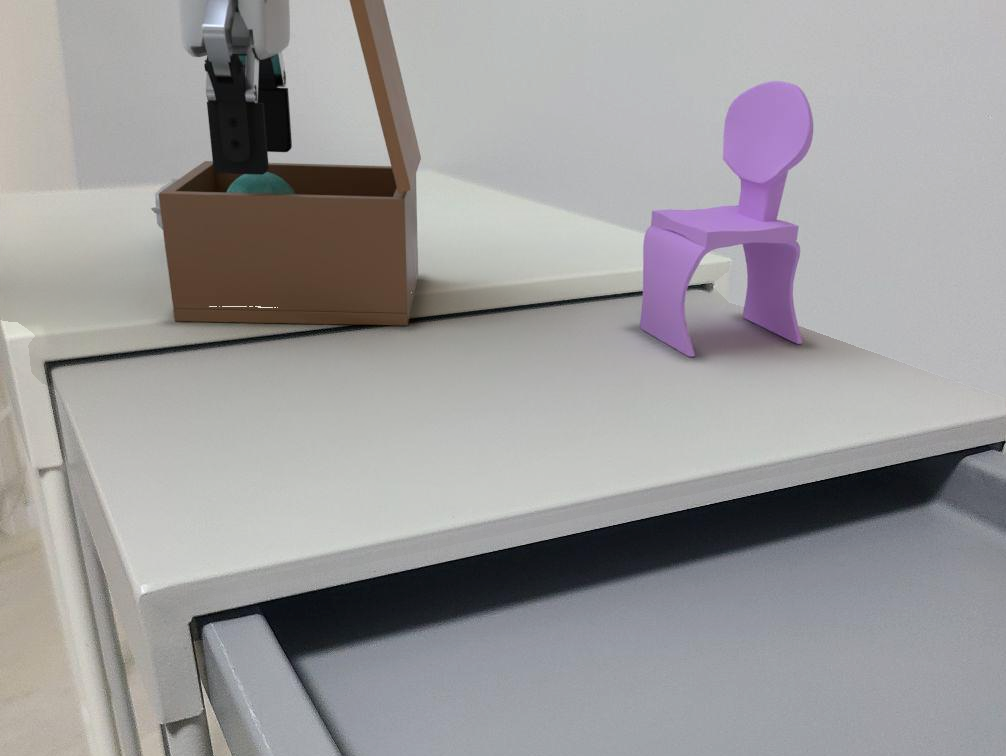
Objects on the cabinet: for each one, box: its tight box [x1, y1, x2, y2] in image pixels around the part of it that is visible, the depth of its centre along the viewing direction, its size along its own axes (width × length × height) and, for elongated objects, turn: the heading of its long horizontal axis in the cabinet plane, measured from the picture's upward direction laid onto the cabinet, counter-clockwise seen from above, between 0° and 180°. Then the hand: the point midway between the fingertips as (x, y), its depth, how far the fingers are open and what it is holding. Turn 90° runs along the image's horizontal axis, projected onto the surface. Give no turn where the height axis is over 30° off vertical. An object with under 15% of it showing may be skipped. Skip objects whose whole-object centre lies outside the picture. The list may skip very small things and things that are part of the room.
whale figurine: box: [226, 172, 295, 194], centre depth 70 cm, size 6×7×4 cm
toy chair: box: [639, 80, 814, 358], centre depth 65 cm, size 8×9×15 cm
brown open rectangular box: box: [158, 160, 419, 327], centre depth 71 cm, size 15×12×8 cm
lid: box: [349, 0, 422, 193], centre depth 66 cm, size 15×12×6 cm
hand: (255, 160), depth 69 cm, fingers open, 8 cm apart
